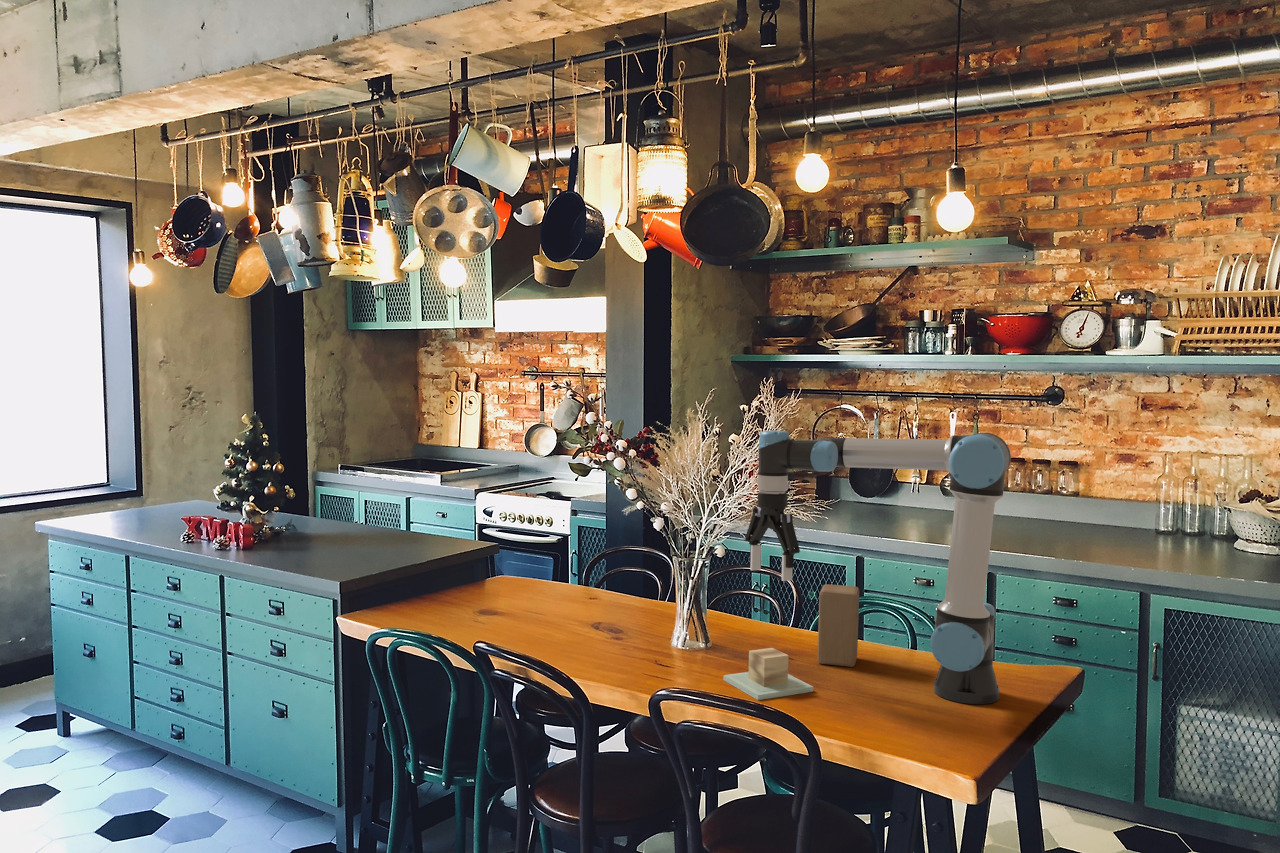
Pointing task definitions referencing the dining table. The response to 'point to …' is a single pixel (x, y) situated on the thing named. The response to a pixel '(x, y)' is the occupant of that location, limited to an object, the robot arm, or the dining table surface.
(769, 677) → the oak cube
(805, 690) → the plate
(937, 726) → the dining table surface
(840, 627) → the wooden block
